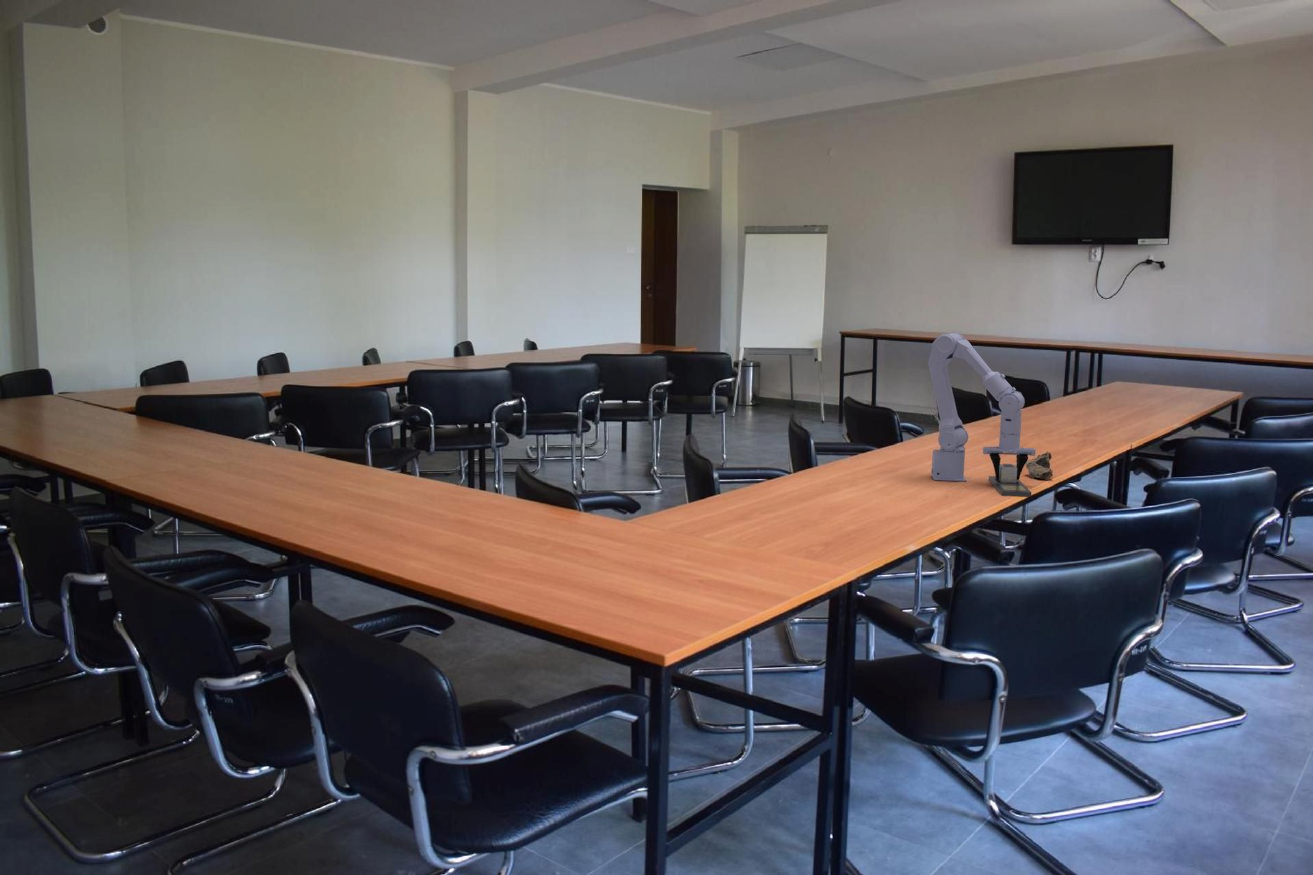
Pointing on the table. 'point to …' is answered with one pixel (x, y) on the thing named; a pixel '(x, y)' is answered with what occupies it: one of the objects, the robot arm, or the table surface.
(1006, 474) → the grey upright block
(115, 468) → the table surface
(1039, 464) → the rock
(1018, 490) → the rail plate
